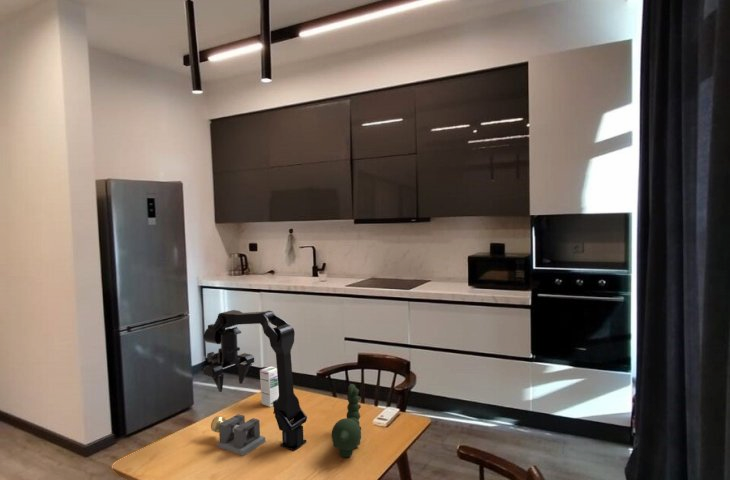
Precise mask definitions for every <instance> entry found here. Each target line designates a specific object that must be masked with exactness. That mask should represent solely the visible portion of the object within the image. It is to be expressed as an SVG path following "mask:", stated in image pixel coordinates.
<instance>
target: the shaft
mask: <svg viewBox="0 0 730 480" xmlns="http://www.w3.org/2000/svg"><path fill="white" fill-rule="evenodd" d="M226 420H227V419H226V418H225V417H222V416H219V415H217V416H215V417H214V418H213V419H212V421H211V423H210V428H211V431H212V432H214V433H219V424H220V423H222V422H224V421H226ZM238 426H239V425H236V424H234V425H232V426H231V433H232V434H234V428H236V427H238ZM250 432H251V431H250V429H248V430H247V431H246V438H247V437H248V436H249V435H250Z"/></svg>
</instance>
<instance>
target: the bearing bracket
mask: <svg viewBox="0 0 730 480" xmlns="http://www.w3.org/2000/svg"><path fill="white" fill-rule="evenodd" d="M260 423H261V422H260V419H259V418H254V417H252V418H250V419H249V420H246V417H245V415H243V414H239V413H238V414H235V415H234V416H232V417H230V418H227V419H226V421H224V422H222V423H220V424H219V435H218V436H219V441H217V448H220V449H223V450H225V451H229V452H231V453H233V454H237V455H240V456H242V457H243V456H246V455H248V454H249V453H250V452H252V451H253V450H255V449H256V448H258V447H260V446H261V445H262V444H264V443H266V437H265V436H263V435H262V436H261V429H260V428H261V425H260ZM234 424H236V425H239V426H238V427H236V428H234V434H232V433H231V426H232V425H234ZM248 429H250V431H251V432H250V435H249V436H248V437H247V438H246V431H247V430H248Z"/></svg>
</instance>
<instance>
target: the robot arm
mask: <svg viewBox="0 0 730 480" xmlns="http://www.w3.org/2000/svg"><path fill="white" fill-rule="evenodd" d="M257 324H258V325H259V324H260V325H261V326H262V331H263V334H264V335H265V336H266V337H267V338H268V340H269V343H270V344H269V346H270V347H271V349H272V351H273V352H274V353H275V361H276V368H277V376H278V389H279V397H278V399H277V400H275V401H273V406H272V407H273V414H274V417H275V421H276V423H277V426H278V430H279V431H281V432H282V433H281V435H282V436H281V437H282V442H281V443H280V444H279V446H280V447H282V448H286V449H289V450H292V451H296V450H298V449H299V448H300V447H302V446H303V445H304V444H306V443H307V439H304V426H303V425H304V423H306V422H307V421H308V416H307V415H306V413H305V412H304V410H303V409H302V408H301V406H300V400H299V398H298V397H297V396H296V394H295V392H294V378H293V365H292V353H291V352H292V348H293V345H294V343H295V329H294V327H293V326H291V324H289V323H288V322H287V320H285V319H283V318H282V317H280V316H278V315H277V314H275V312H273V311H272V310H266V311H254V312H253V311H252V312H250V311H249V312H242V311H240V310H235V309H231V310H227V311H223V312H219V313H218V314H217V318H216V320H215V322H214V323H211V324H208V325H207V328H206V330H205V331H204V333H203V339H204V341H205V342H206V343H209V344H215V345H216V344H217V345H220V347H219V348H218V351H217V352H216V353H215V352H214V351H211V352H208V353H207V355H206V359H207V362H208V363H210V362H211V364H208V365H206V366H204V368H203V375H205V376H208V377H211V378H212V380H213V382H214V383H215V386H216V387H217V390H218V392H219V393H222V392H223V388H224V387H223V386H224V378H225V377H224V374H223V373H224V370H226V369H229V368H231V367H233V366H236V367H237V369H238V370H237V371H238V372H237V373H238V383H239V384H243V382H244V380H245V378H246V375H247V373H248V372H249V369H250V368H251V366H253V364H254V363H255V356H254V355H253V354H250V353H246V352H244V353H240V354H239V352H238V351H241V348H240V347H238V335H239V334H241V333H242V330H240V329H239V328H238V325H257ZM270 324H271V325H273V326H274V327H272V326H271V325H270ZM216 363H217V364H216Z"/></svg>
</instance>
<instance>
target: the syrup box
mask: <svg viewBox="0 0 730 480" xmlns="http://www.w3.org/2000/svg"><path fill="white" fill-rule="evenodd" d="M259 378H260V380H259V381H260V395H261V398H260V399H261V404H262V405H264V406H266V407H269V408H271V407H273V401H275V400H277V399H278V397H279V389H278V376H277V366H276V367H275V366H268V367H265V368H262V369H259Z"/></svg>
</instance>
